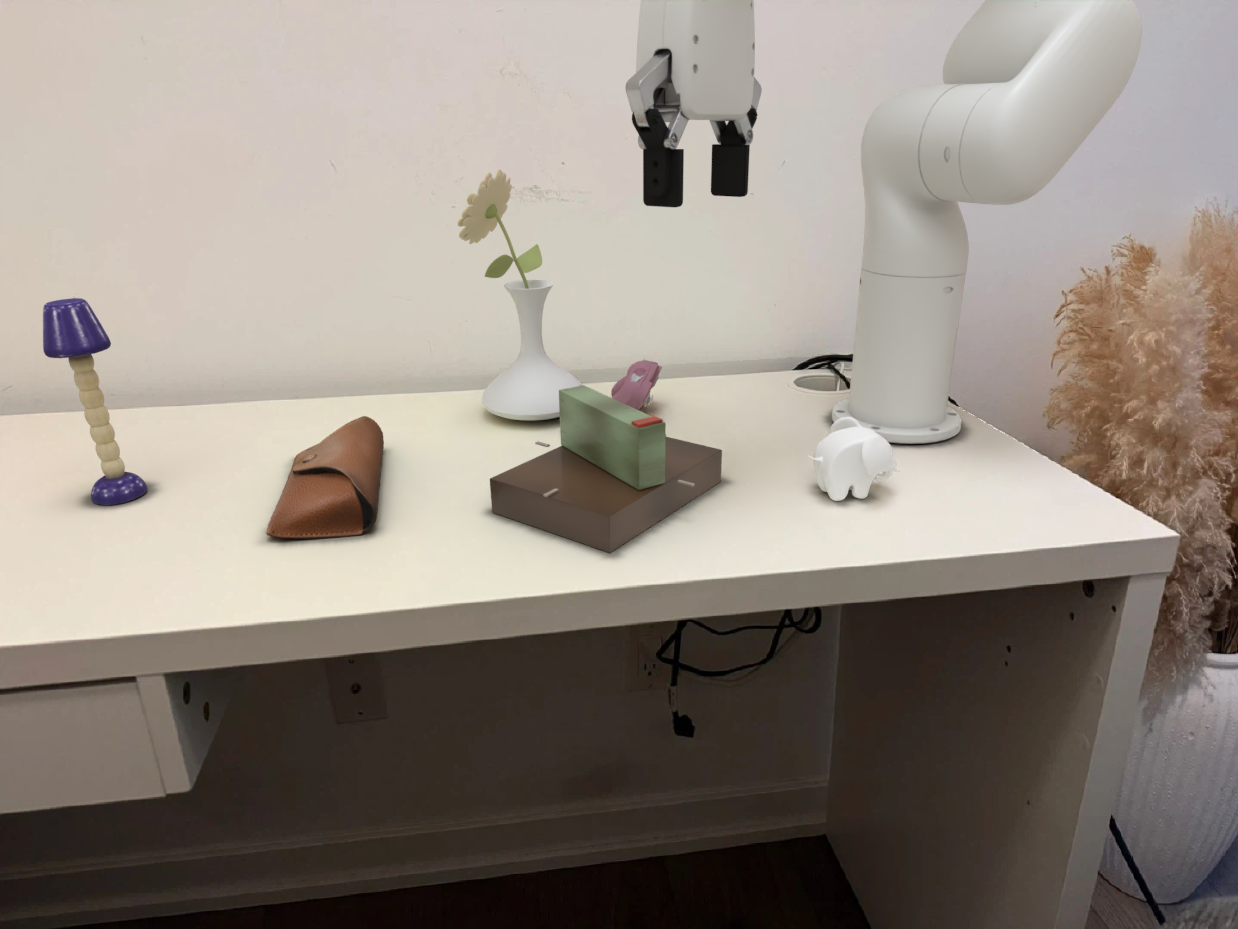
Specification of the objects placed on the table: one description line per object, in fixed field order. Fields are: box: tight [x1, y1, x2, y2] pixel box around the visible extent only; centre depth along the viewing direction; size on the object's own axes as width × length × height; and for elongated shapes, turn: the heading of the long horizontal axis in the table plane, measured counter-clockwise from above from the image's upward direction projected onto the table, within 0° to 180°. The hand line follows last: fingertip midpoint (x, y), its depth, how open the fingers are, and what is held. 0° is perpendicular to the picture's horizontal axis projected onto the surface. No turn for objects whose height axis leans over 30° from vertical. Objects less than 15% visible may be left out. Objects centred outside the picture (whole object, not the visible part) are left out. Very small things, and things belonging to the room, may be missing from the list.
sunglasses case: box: [265, 415, 385, 540], centre depth 72 cm, size 18×7×7 cm
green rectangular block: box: [559, 384, 667, 490], centre depth 69 cm, size 12×2×5 cm, turn 33°
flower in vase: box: [457, 169, 583, 422], centre depth 87 cm, size 13×11×25 cm
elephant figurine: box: [806, 417, 900, 502], centre depth 70 cm, size 7×8×6 cm
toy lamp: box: [42, 297, 148, 506], centre depth 70 cm, size 5×5×17 cm
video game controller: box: [610, 358, 663, 411], centre depth 90 cm, size 10×5×7 cm, turn 168°
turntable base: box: [489, 435, 723, 554], centre depth 71 cm, size 16×16×3 cm
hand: (697, 200), depth 67 cm, fingers open, 9 cm apart
